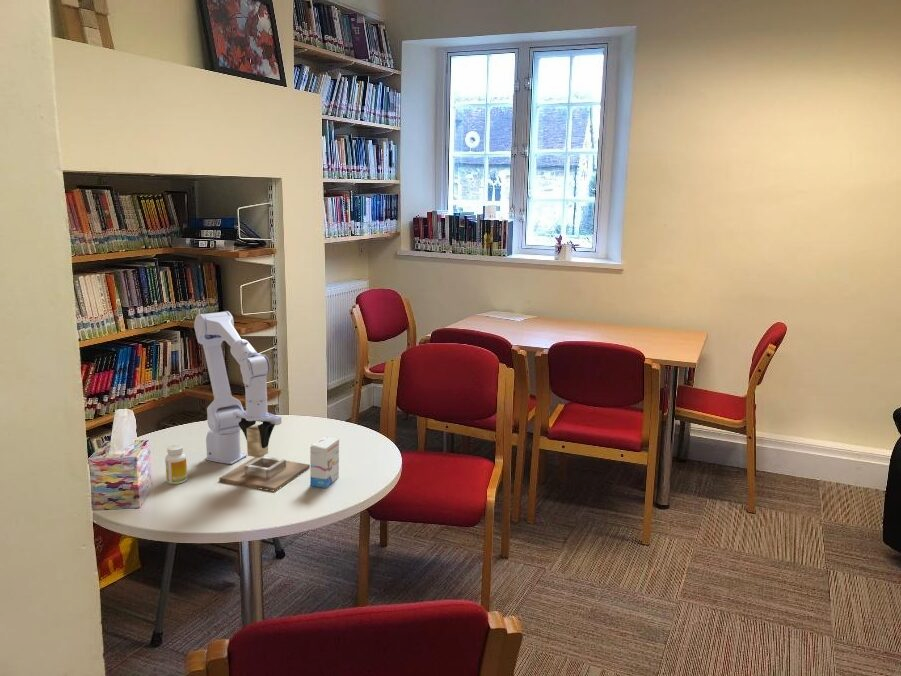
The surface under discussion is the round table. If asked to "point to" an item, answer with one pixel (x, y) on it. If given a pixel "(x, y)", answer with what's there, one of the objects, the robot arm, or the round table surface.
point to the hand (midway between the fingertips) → (258, 445)
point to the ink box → (324, 462)
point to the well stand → (265, 473)
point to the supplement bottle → (176, 465)
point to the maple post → (255, 442)
